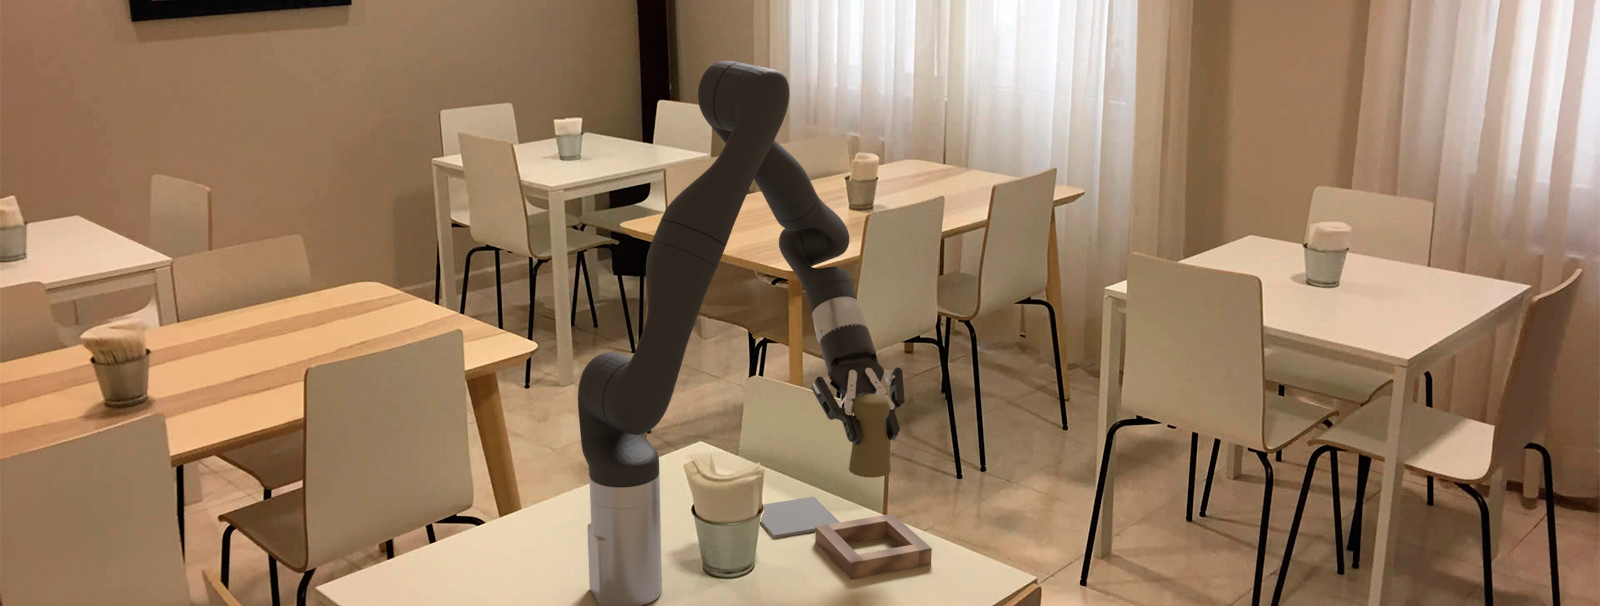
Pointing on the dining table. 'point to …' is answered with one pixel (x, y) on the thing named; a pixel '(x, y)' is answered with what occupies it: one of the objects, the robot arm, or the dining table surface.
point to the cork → (871, 437)
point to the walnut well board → (877, 562)
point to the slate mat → (795, 517)
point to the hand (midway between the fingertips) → (876, 439)
